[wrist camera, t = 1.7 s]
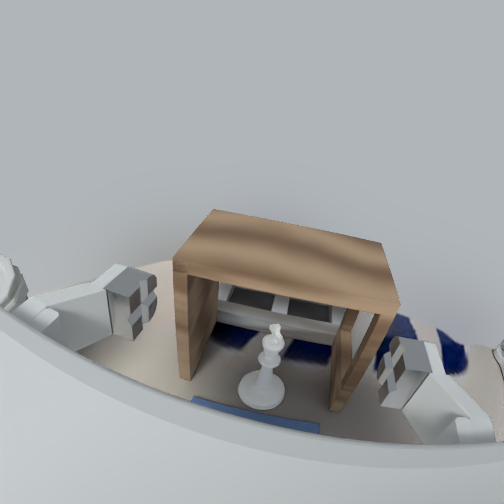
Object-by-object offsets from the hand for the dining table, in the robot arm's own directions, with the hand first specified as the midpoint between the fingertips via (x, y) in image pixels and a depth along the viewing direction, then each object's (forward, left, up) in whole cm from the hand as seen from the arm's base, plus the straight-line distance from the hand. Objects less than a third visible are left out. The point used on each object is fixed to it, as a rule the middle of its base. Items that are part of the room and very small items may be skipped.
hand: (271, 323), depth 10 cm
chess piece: (-9, -8, -21) cm, 24 cm away
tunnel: (-15, -13, -21) cm, 29 cm away
